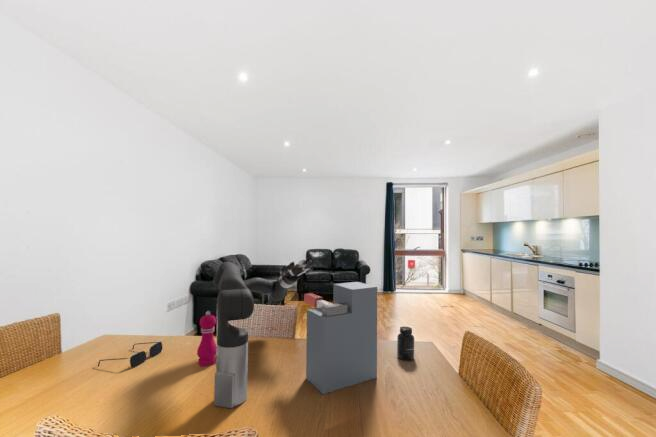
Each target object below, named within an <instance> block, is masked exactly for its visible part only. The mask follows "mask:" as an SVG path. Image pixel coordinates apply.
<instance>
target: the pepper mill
mask: <svg viewBox="0 0 656 437" xmlns="http://www.w3.org/2000/svg"><path fill="white" fill-rule="evenodd" d="M216 324H217V317H216V316H215V315H214V314H211V311H210V310H207V311H206V312H205V314H204V315H203V316H202V317H201V318H200V319H199V326H200V333H201V340H200V343H199V346H198V348H197V352H196V354H197V356H198V360H197V361H198V362H197V363H198V366H200V367H210V366H212V365H214V364H215V363H216V360H217V343H216V341H215V339H214V332H215V328H216V327H215V326H216Z"/></svg>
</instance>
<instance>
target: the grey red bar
mask: <svg viewBox="0 0 656 437" xmlns="http://www.w3.org/2000/svg"><path fill="white" fill-rule="evenodd" d="M303 302H304V303H305V304H308V305H310V306H311V307H312V308H319V309H321V310H322V315H324V316H326V317H329V316H335V315H342V314H347V304H344V303H337V304H333V303H331V302H330V301H326V300H324V298H323V296H320V295H317V294H314V293H313V292H309V293H304V294H303Z"/></svg>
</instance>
